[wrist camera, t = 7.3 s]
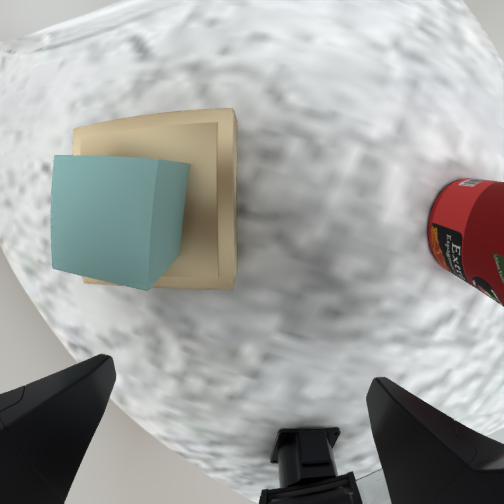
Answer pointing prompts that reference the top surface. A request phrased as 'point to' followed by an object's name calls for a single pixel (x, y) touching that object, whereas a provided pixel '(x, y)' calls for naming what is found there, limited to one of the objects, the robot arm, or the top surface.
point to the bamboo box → (198, 188)
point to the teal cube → (117, 217)
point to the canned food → (471, 233)
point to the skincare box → (374, 489)
